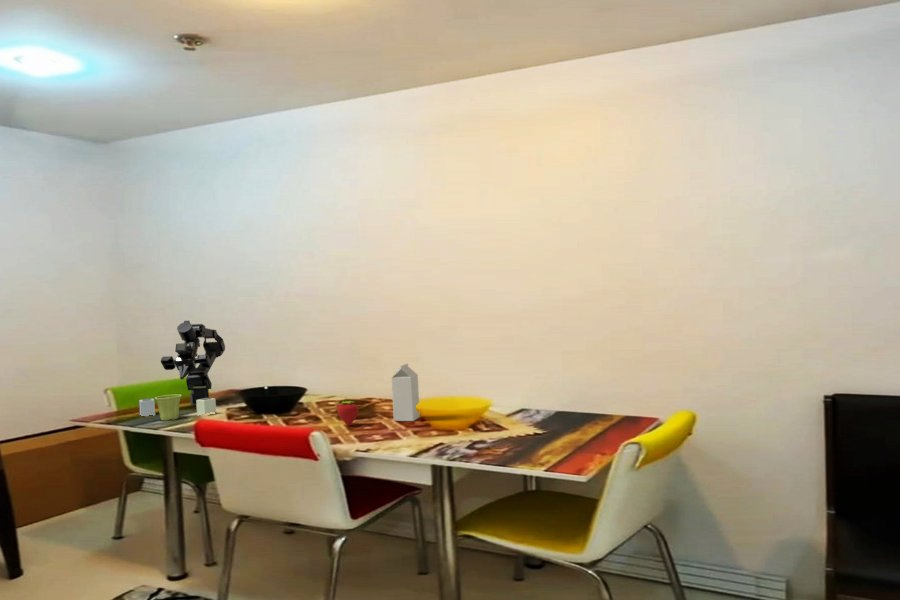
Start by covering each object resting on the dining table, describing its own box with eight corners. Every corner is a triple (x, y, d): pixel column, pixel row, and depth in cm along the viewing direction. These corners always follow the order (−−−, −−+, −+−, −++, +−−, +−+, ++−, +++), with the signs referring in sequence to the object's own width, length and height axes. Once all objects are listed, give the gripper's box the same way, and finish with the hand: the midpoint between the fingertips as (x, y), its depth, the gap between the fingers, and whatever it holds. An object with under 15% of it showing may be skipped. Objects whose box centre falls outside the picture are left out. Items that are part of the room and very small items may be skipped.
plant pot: (150, 421, 253) (149, 398, 253) (166, 416, 262) (165, 394, 262) (172, 421, 250) (171, 398, 250) (187, 416, 260) (186, 394, 259)
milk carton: (419, 417, 237) (417, 363, 237) (413, 421, 230) (410, 365, 230) (400, 417, 239) (398, 363, 238) (393, 421, 232) (390, 365, 232)
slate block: (153, 413, 271) (152, 397, 271) (155, 415, 266) (154, 399, 266) (140, 415, 268) (139, 399, 268) (141, 417, 264) (140, 400, 264)
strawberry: (352, 428, 223) (351, 398, 223) (334, 427, 227) (332, 397, 226) (363, 424, 229) (361, 395, 228) (344, 423, 232) (343, 394, 232)
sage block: (208, 413, 266) (207, 397, 266) (216, 414, 263) (215, 397, 263) (197, 415, 262) (196, 399, 261) (204, 416, 259) (204, 400, 259)
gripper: (161, 336, 275) (150, 367, 264) (207, 334, 275) (199, 364, 264) (169, 354, 283) (160, 384, 272) (214, 352, 283) (207, 382, 272)
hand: (181, 378), depth 270 cm, fingers closed
